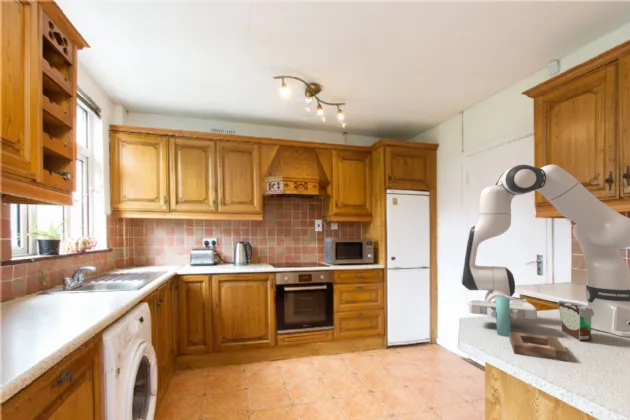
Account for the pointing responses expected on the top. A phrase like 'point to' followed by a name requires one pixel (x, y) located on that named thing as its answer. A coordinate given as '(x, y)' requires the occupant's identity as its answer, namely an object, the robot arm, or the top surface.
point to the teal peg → (503, 316)
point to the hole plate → (538, 346)
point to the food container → (576, 320)
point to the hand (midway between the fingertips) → (503, 315)
